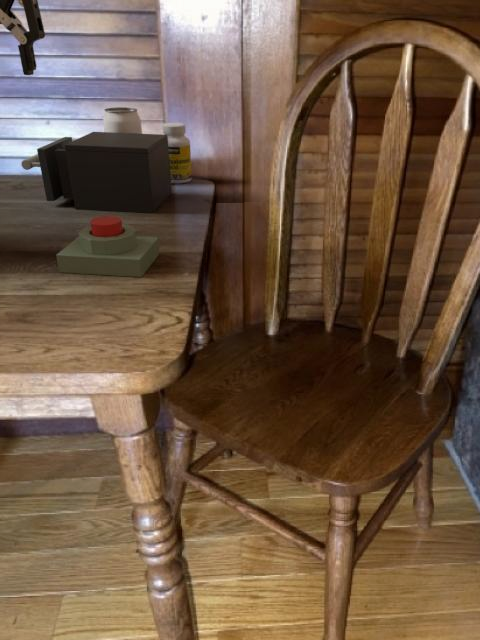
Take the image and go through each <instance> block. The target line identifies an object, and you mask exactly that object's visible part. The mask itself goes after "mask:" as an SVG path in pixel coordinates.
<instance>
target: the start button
mask: <svg viewBox="0 0 480 640" xmlns="http://www.w3.org/2000/svg"><path fill="white" fill-rule="evenodd" d="M122 221H123V220H122V218H121V217H118V216H114V215H102V216H97V217H93V218H92V219H90V221H89V223H90V226H91V230H92V236H95V237H113V236H118V235H121V234H123V229H122V224H123V223H122Z"/></svg>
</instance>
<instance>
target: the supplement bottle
mask: <svg viewBox="0 0 480 640" xmlns="http://www.w3.org/2000/svg"><path fill="white" fill-rule="evenodd" d="M186 131H187V130H186V124H185V123H181V122H164V123H162V133H163V135H167V136H168V148H169V161H170V174H171V184H174V185H175V184H176V185H177V184H186V183H189V182H191V181H192V154H191V141H190V139H189V138H188V137H187V136H185V134H186Z"/></svg>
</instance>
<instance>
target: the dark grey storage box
mask: <svg viewBox="0 0 480 640" xmlns="http://www.w3.org/2000/svg"><path fill="white" fill-rule="evenodd" d="M65 150H66V156H67V162H68V168H69V174H70V180H71V186H72V192H73V198H74V199H73V203H74V209H75V210H86V211H106V212H127V213H143V214H144V213H146V214H154V213H155V212H156V211H157V210H158V209H159V208H160V207H161V206H162V205H163V204H164V203H165V201H166V200H168V198H170V196H172V194H173V189H172V183H171V174H170V161H169V148H168V136H167V135H165V134H158V133H157V134H156V133H142V134H137V133H113V132H105V131H92V132H90V133H87V134H85V135H83V136H80V137H78V138H76V139H74V140H72V142H70V143H68V144H65Z"/></svg>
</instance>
